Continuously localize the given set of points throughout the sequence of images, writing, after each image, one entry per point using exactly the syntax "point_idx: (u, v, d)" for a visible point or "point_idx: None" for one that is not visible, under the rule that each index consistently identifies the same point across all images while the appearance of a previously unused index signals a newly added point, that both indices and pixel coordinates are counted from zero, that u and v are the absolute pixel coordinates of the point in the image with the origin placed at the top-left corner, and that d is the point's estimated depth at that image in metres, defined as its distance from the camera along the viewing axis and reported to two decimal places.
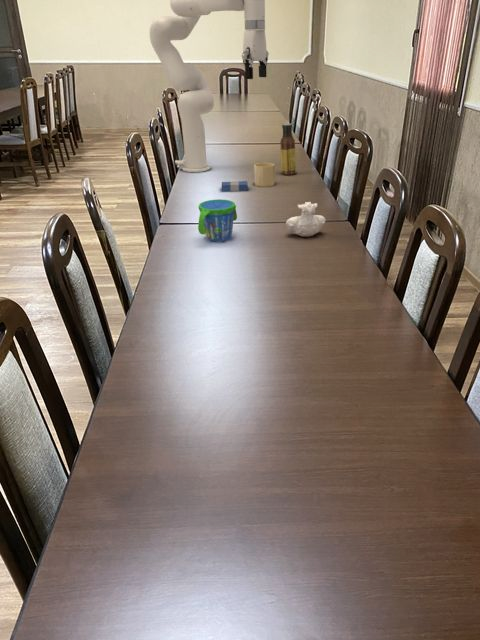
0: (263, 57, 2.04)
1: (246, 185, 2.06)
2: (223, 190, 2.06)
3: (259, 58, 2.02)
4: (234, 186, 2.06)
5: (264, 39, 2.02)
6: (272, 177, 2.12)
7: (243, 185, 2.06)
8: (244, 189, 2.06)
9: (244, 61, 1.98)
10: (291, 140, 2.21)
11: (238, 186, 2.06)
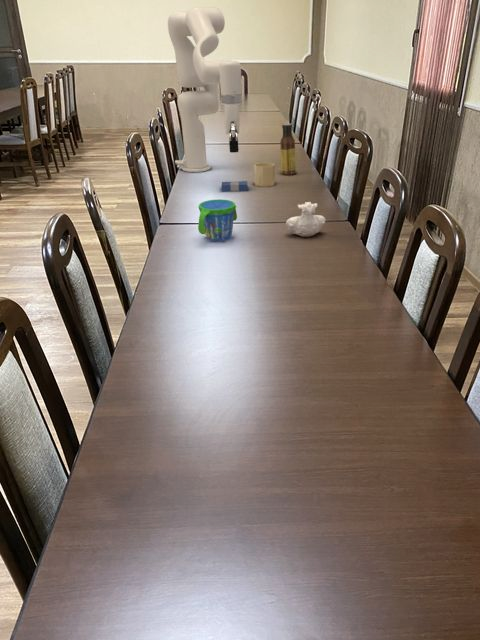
0: None
1: (246, 185, 2.06)
2: (223, 190, 2.06)
3: None
4: (234, 186, 2.06)
5: None
6: (272, 177, 2.12)
7: (243, 185, 2.06)
8: (244, 189, 2.06)
9: (233, 136, 1.92)
10: (291, 140, 2.21)
11: (238, 186, 2.06)
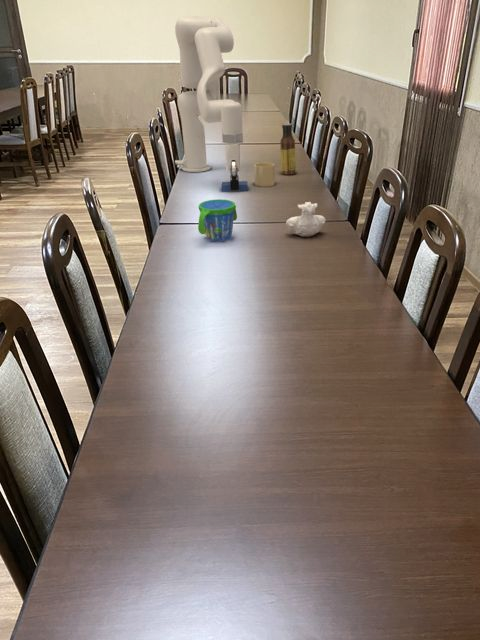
0: None
1: (246, 185, 2.06)
2: (223, 190, 2.06)
3: None
4: None
5: None
6: (272, 177, 2.12)
7: (243, 185, 2.06)
8: (244, 189, 2.06)
9: (233, 176, 2.01)
10: (291, 140, 2.21)
11: None
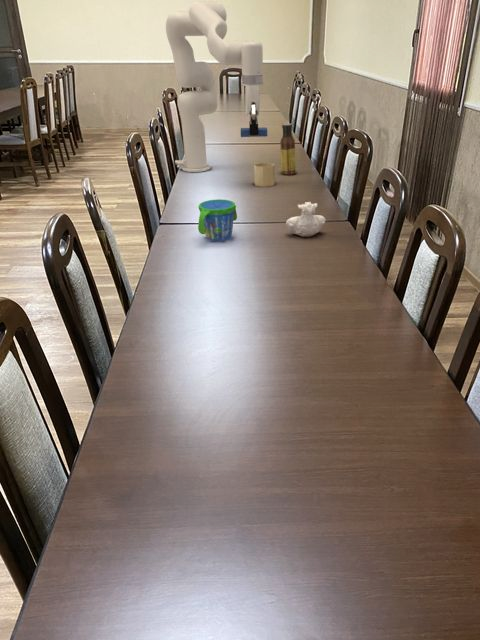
0: (258, 110, 2.01)
1: (266, 130, 2.00)
2: (242, 135, 2.01)
3: None
4: None
5: None
6: (272, 177, 2.12)
7: (263, 130, 2.00)
8: (264, 135, 2.01)
9: (253, 119, 1.95)
10: (291, 140, 2.21)
11: None
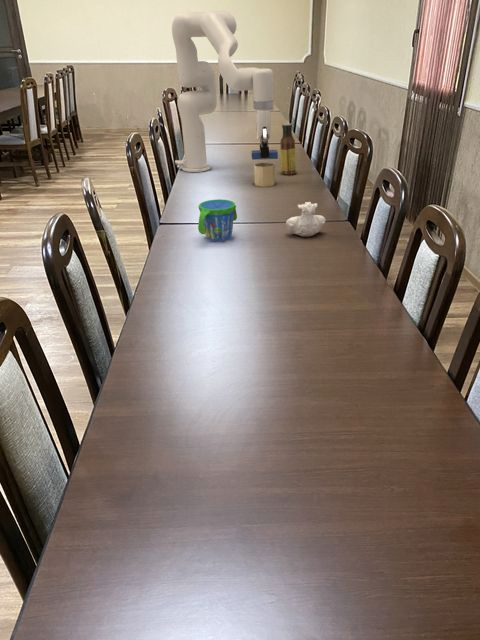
0: None
1: (276, 153, 2.07)
2: (253, 158, 2.07)
3: (269, 135, 2.05)
4: None
5: None
6: (272, 177, 2.12)
7: (273, 153, 2.07)
8: (274, 157, 2.08)
9: (264, 143, 2.02)
10: (291, 140, 2.21)
11: None
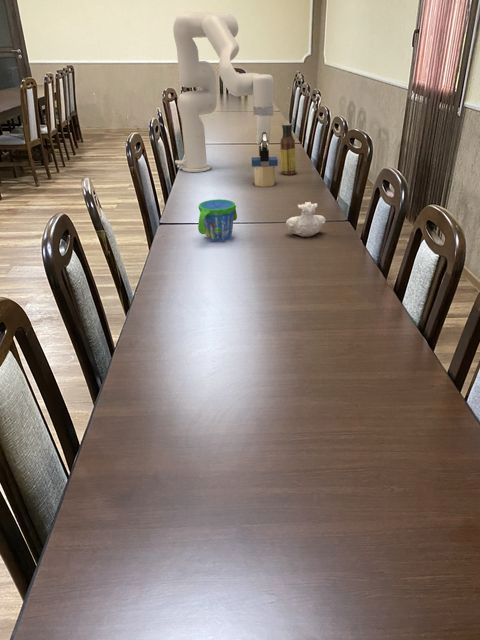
0: None
1: (276, 160, 2.08)
2: (253, 165, 2.09)
3: None
4: None
5: None
6: (272, 177, 2.12)
7: (273, 160, 2.08)
8: (274, 164, 2.09)
9: (264, 146, 2.01)
10: (291, 140, 2.21)
11: (268, 161, 2.08)
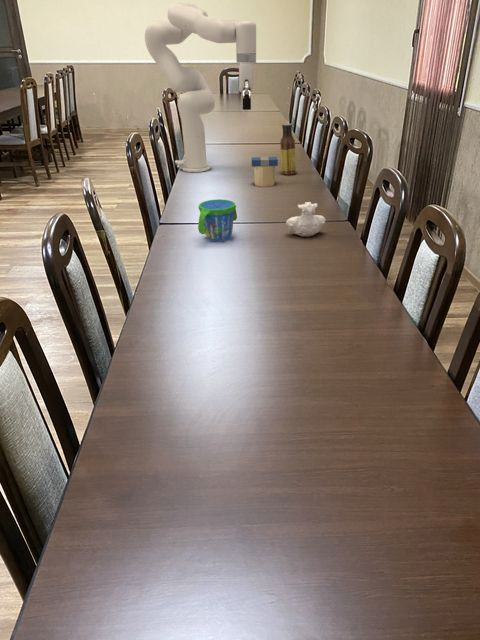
0: None
1: (276, 160, 2.08)
2: (253, 165, 2.09)
3: None
4: (264, 161, 2.08)
5: None
6: (272, 177, 2.12)
7: (273, 160, 2.08)
8: (274, 164, 2.09)
9: (246, 93, 2.03)
10: (291, 140, 2.21)
11: (268, 161, 2.08)
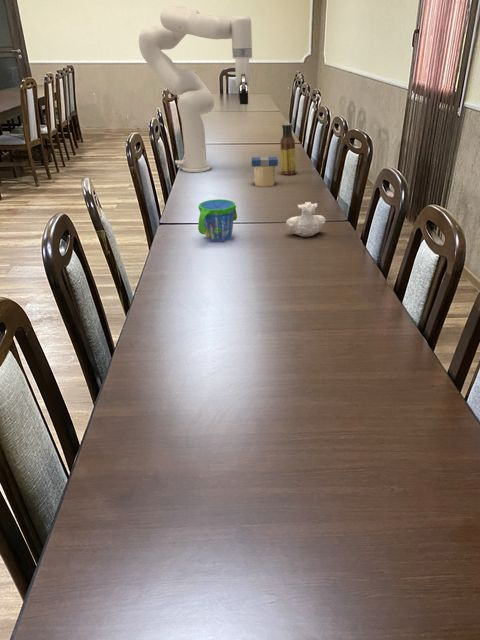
0: None
1: (276, 160, 2.08)
2: (253, 165, 2.09)
3: None
4: (264, 161, 2.08)
5: None
6: (272, 177, 2.12)
7: (273, 160, 2.08)
8: (274, 164, 2.09)
9: (243, 87, 2.05)
10: (291, 140, 2.21)
11: (268, 161, 2.08)
